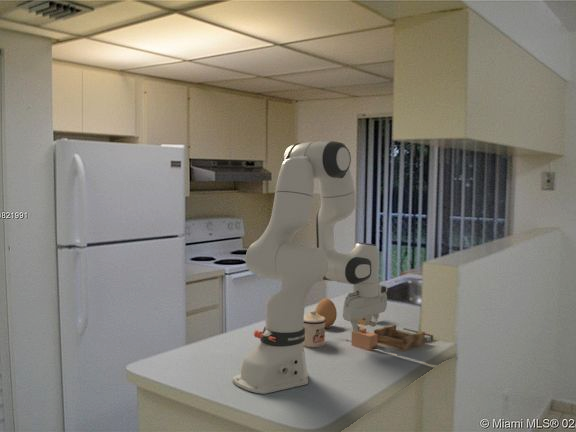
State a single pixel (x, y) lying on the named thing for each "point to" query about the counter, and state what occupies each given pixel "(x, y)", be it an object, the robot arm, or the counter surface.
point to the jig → (400, 338)
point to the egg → (327, 311)
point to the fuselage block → (364, 339)
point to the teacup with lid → (314, 329)
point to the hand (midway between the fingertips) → (364, 328)
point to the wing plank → (415, 333)
